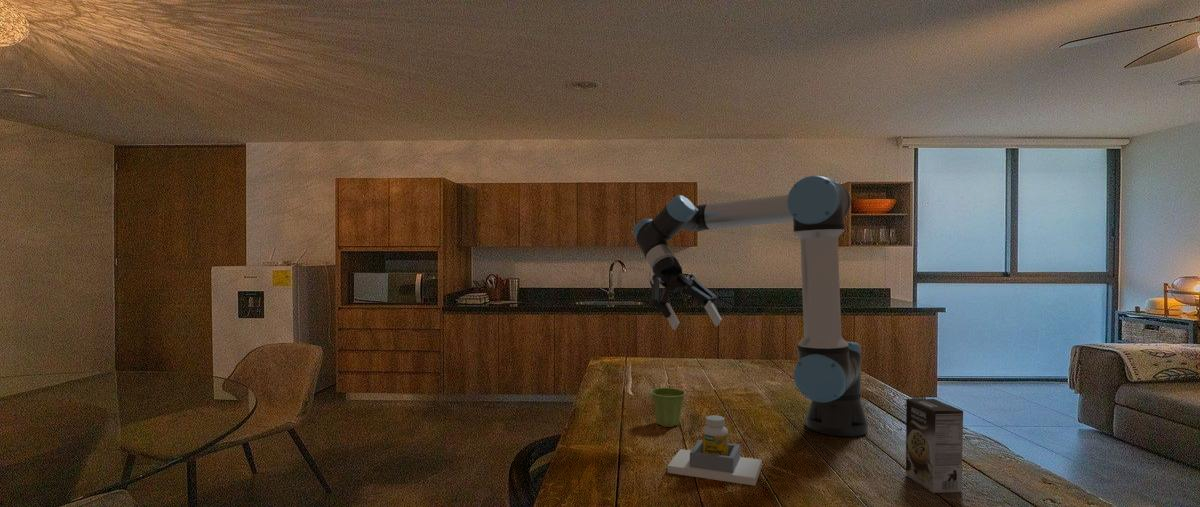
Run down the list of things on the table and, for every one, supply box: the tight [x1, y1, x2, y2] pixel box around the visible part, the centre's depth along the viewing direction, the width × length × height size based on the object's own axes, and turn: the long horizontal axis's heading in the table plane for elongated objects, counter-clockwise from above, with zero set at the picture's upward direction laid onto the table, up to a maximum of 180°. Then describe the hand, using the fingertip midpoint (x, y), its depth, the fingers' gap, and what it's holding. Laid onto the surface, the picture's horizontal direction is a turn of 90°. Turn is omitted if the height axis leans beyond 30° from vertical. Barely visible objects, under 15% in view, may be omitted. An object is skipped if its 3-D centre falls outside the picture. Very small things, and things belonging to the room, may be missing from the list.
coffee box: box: [905, 398, 964, 494], centre depth 119 cm, size 9×6×16 cm
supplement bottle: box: [702, 414, 729, 456], centre depth 126 cm, size 5×5×10 cm
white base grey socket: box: [667, 439, 763, 487], centre depth 126 cm, size 18×11×4 cm, turn 68°
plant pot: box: [650, 387, 687, 428], centre depth 159 cm, size 9×9×9 cm
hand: (698, 324), depth 152 cm, fingers open, 13 cm apart
